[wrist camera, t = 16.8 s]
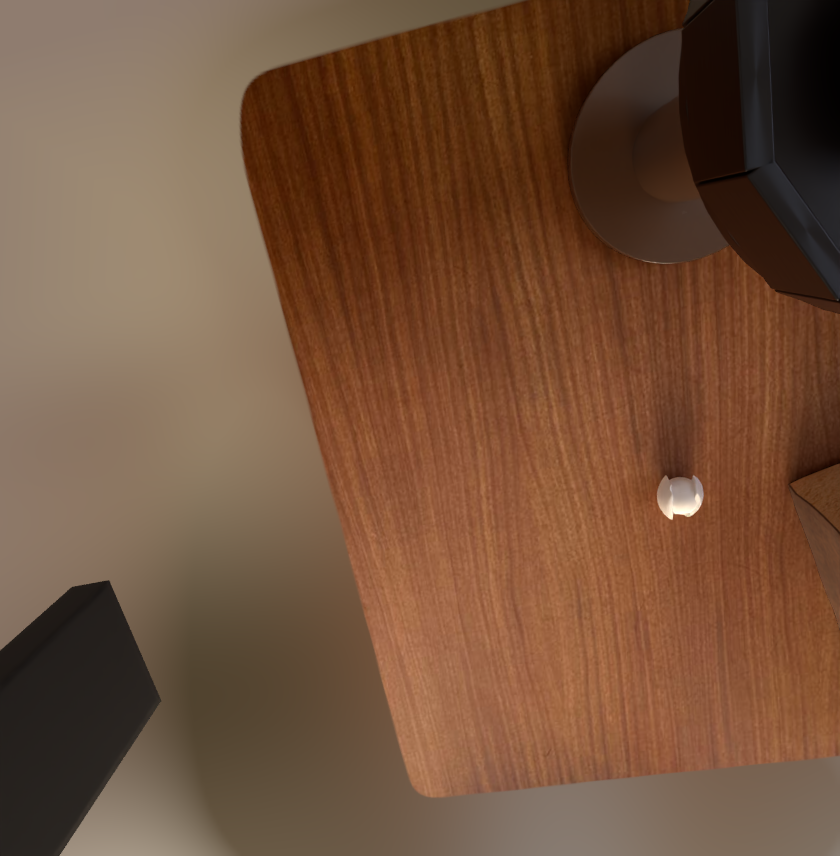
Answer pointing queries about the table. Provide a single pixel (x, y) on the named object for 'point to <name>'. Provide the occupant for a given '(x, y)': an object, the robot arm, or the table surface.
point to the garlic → (680, 496)
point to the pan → (722, 144)
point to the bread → (822, 525)
